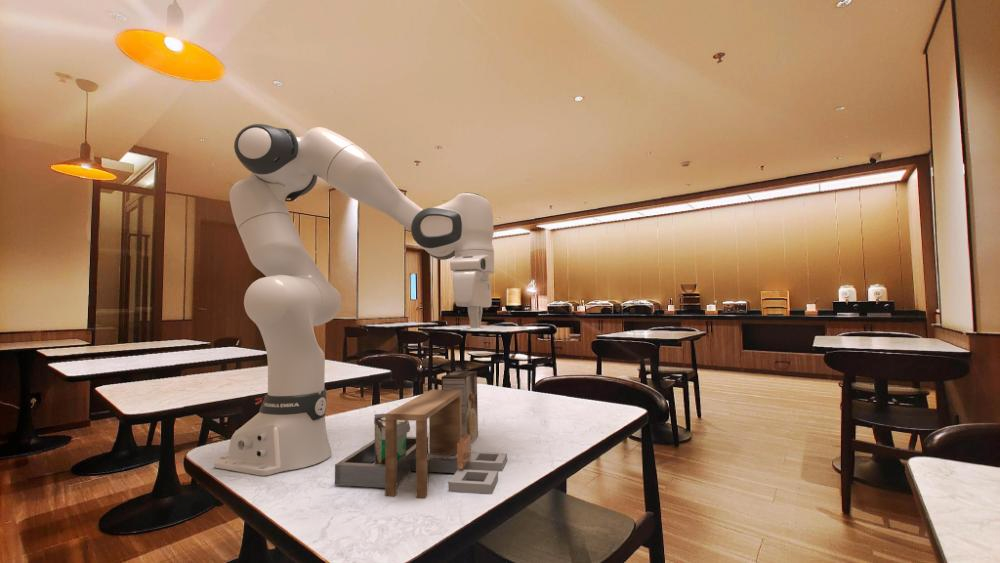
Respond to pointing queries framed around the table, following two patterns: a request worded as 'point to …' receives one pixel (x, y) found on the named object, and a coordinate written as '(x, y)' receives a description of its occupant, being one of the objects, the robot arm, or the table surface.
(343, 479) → the shallow grey tray
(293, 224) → the robot arm
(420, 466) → the brown wooden bench
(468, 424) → the coffee box
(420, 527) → the table surface
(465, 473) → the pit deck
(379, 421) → the food container
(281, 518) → the table surface
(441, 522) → the table surface
